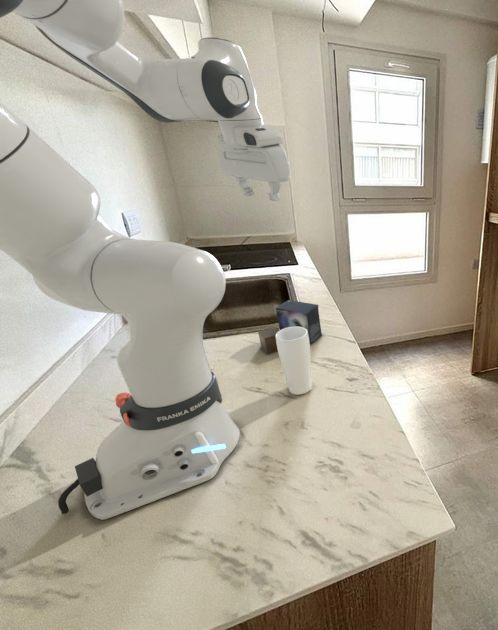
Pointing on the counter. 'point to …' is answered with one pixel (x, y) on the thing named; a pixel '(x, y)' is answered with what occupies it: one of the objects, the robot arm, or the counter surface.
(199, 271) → the robot arm
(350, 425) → the counter surface
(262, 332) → the walnut block
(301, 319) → the small box
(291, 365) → the drinking glass
